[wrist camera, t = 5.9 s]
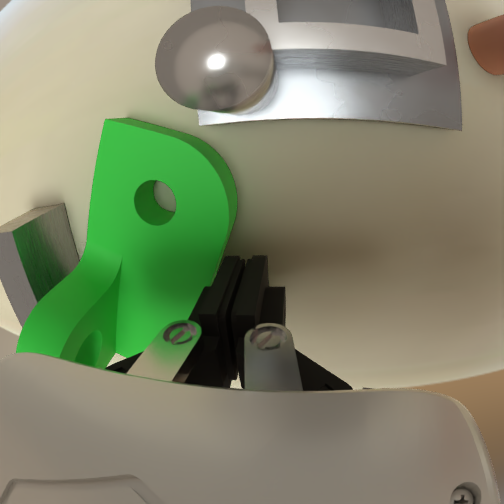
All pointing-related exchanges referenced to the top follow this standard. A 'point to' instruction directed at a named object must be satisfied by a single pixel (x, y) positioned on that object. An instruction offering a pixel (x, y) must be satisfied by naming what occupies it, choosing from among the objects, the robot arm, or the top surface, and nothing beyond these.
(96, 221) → the mechanical part
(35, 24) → the top surface
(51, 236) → the block
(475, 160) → the top surface
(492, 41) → the peach peg
